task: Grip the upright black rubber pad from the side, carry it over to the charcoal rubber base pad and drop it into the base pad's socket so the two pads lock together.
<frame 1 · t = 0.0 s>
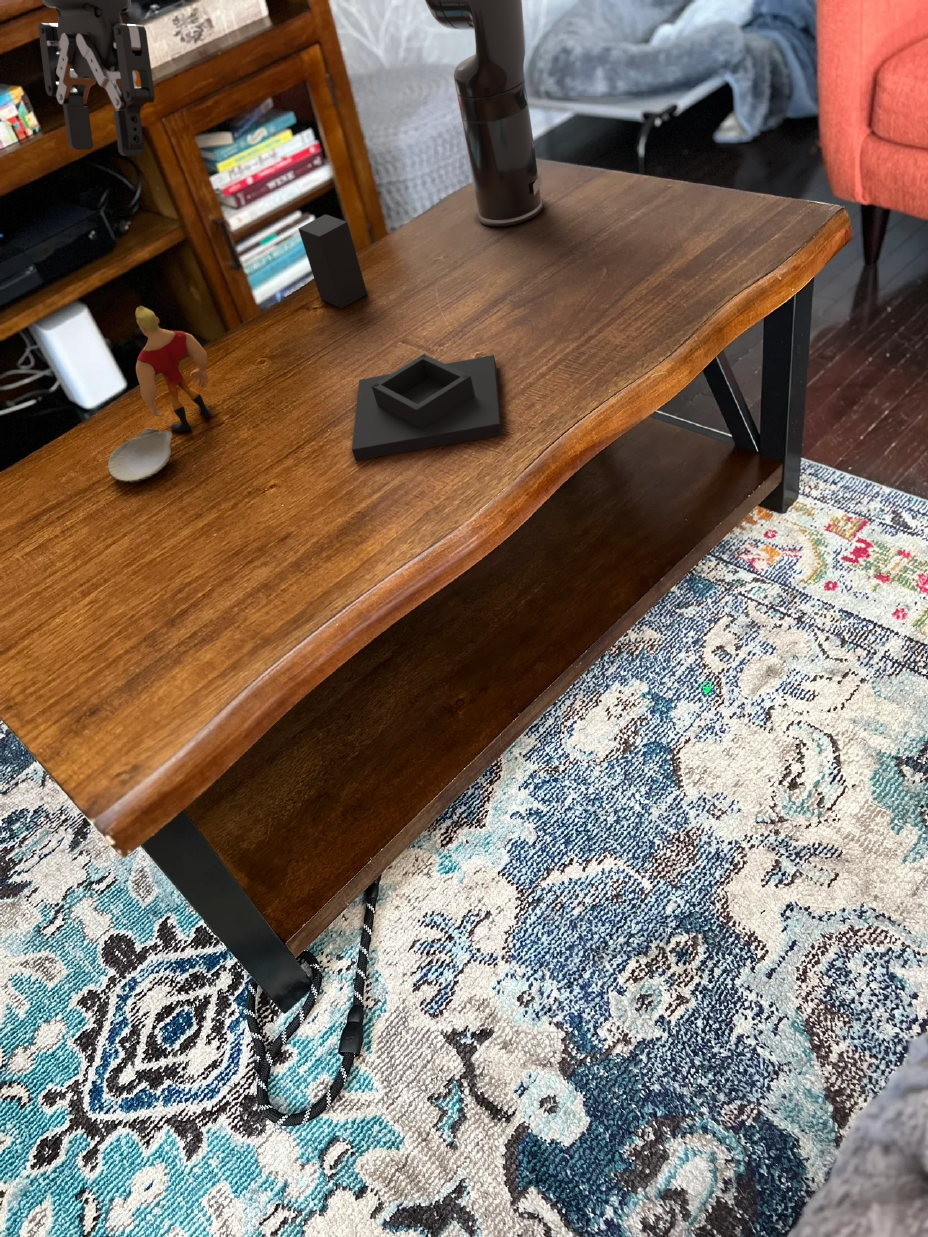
hand: (105, 152, 91), 31 cm above the table, tool tilted 20°, fingers open, 8 cm apart
scallop shell: (149, 467, 110), on the table
action figure: (194, 422, 116), on the table
socket pad: (428, 411, 107), on the table
plug pad: (343, 296, 131), on the table
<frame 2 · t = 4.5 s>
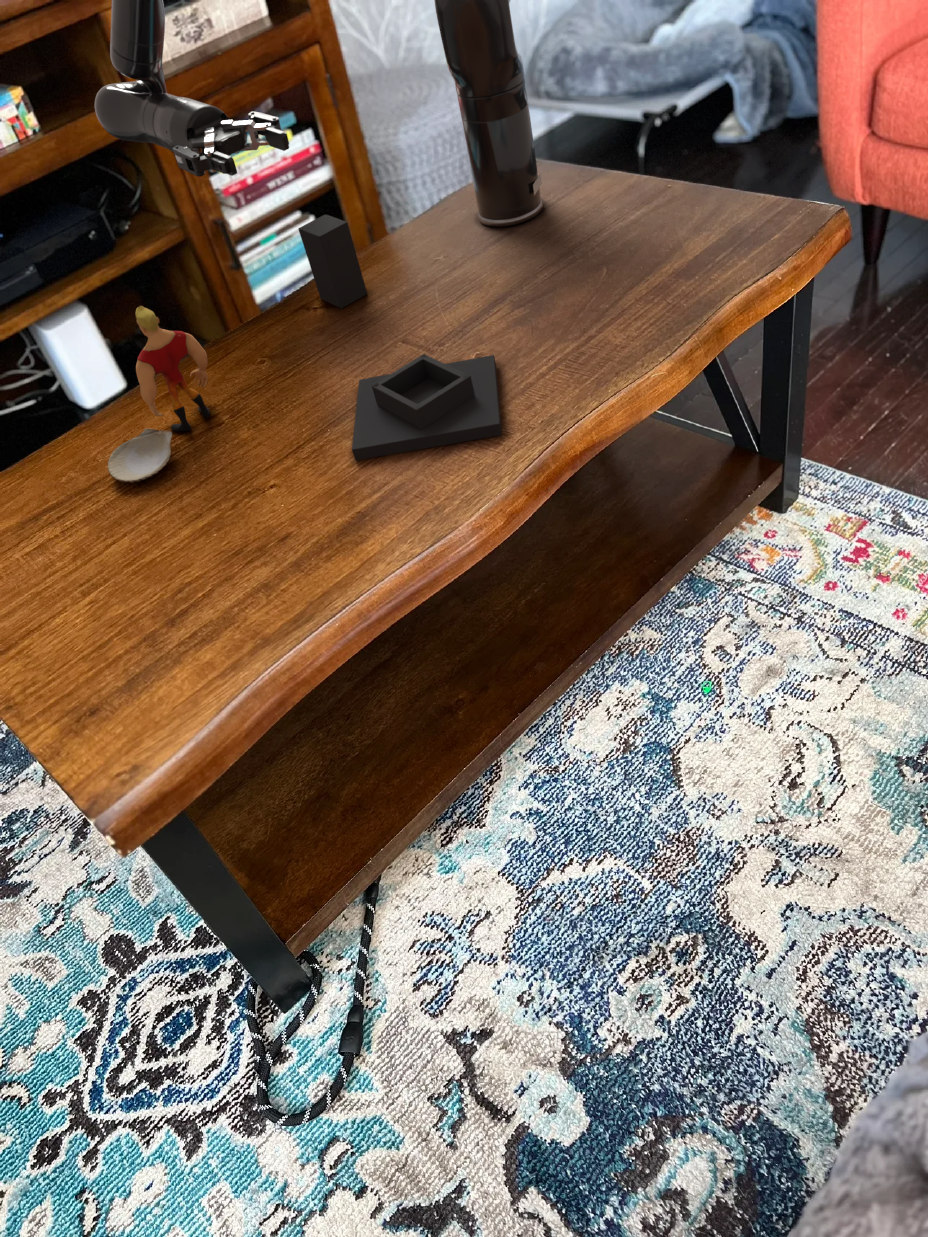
hand: (260, 153, 125), 18 cm above the table, tool horizontal, fingers open, 8 cm apart
nothing on the table moved.
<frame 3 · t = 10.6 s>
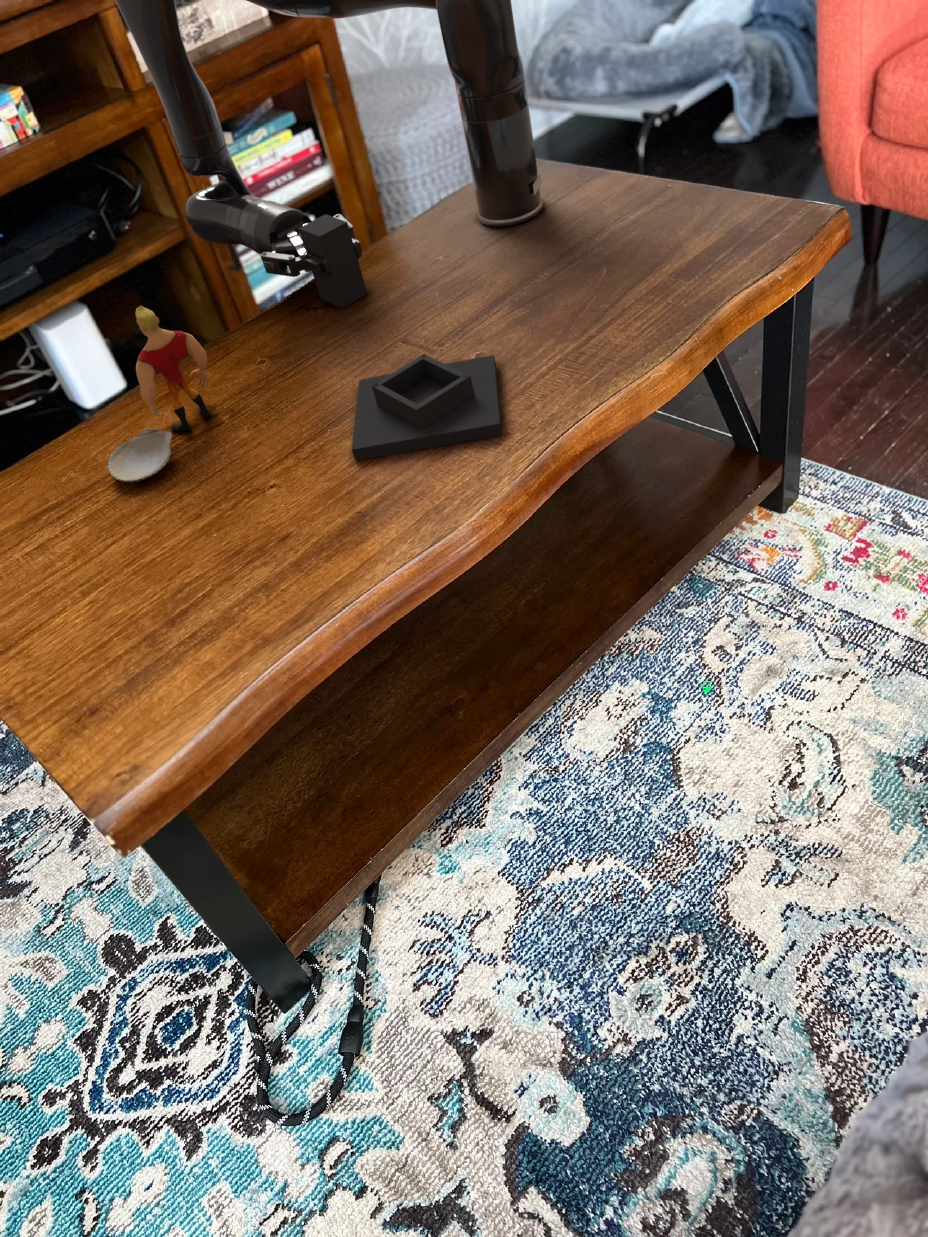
hand: (342, 258, 125), 6 cm above the table, tool horizontal, fingers closed on plug pad, 4 cm apart
plug pad: (344, 296, 131), on the table, touching gripper
everything else where it was.
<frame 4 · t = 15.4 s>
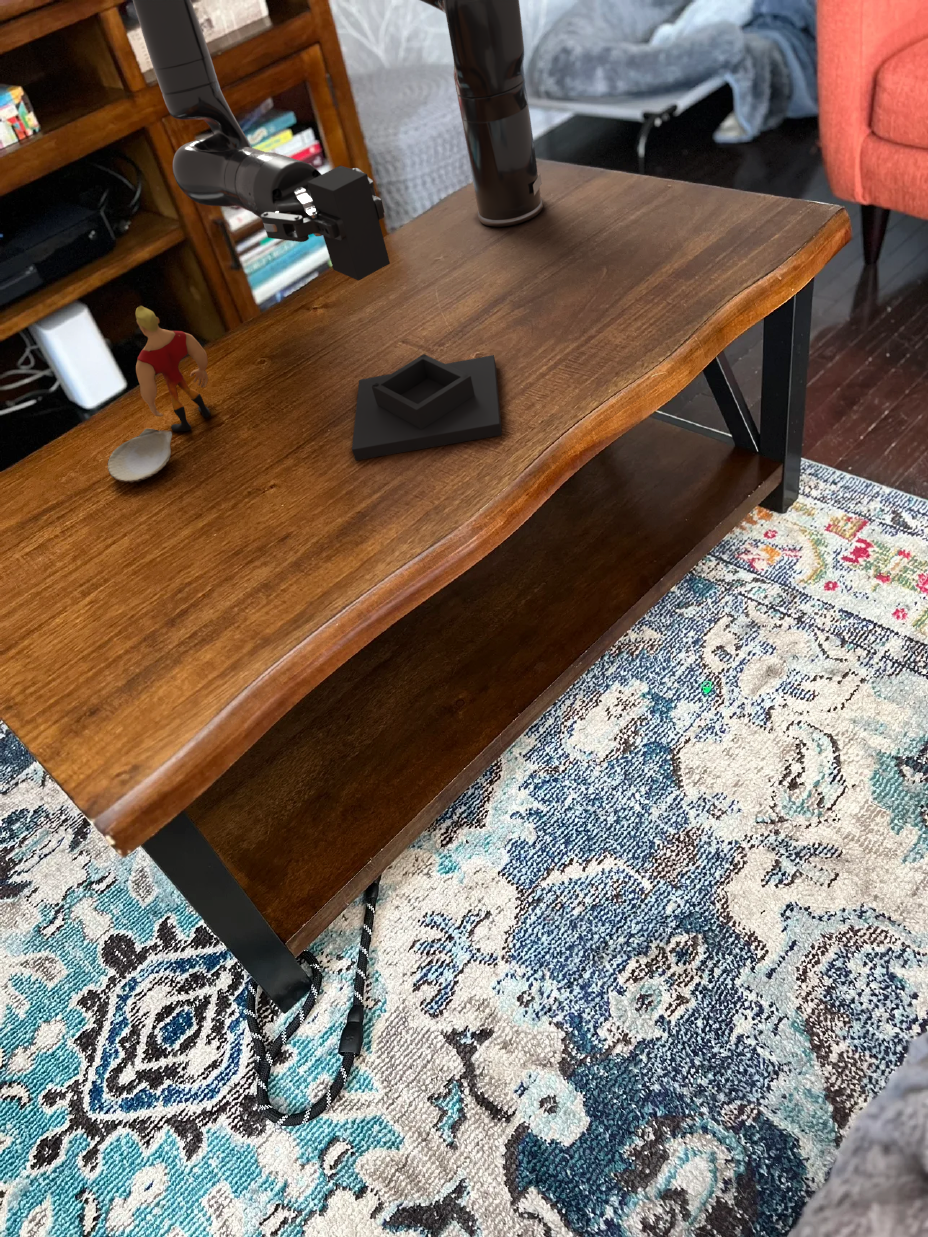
hand: (361, 219, 103), 18 cm above the table, tool horizontal, fingers closed on plug pad, 4 cm apart
plug pad: (361, 266, 109), point 12 cm above the table, touching gripper
everything else where it was.
when the fingers open (8 cm above the table, at t = 20.6 s): plug pad stays where it is, resting on socket pad.
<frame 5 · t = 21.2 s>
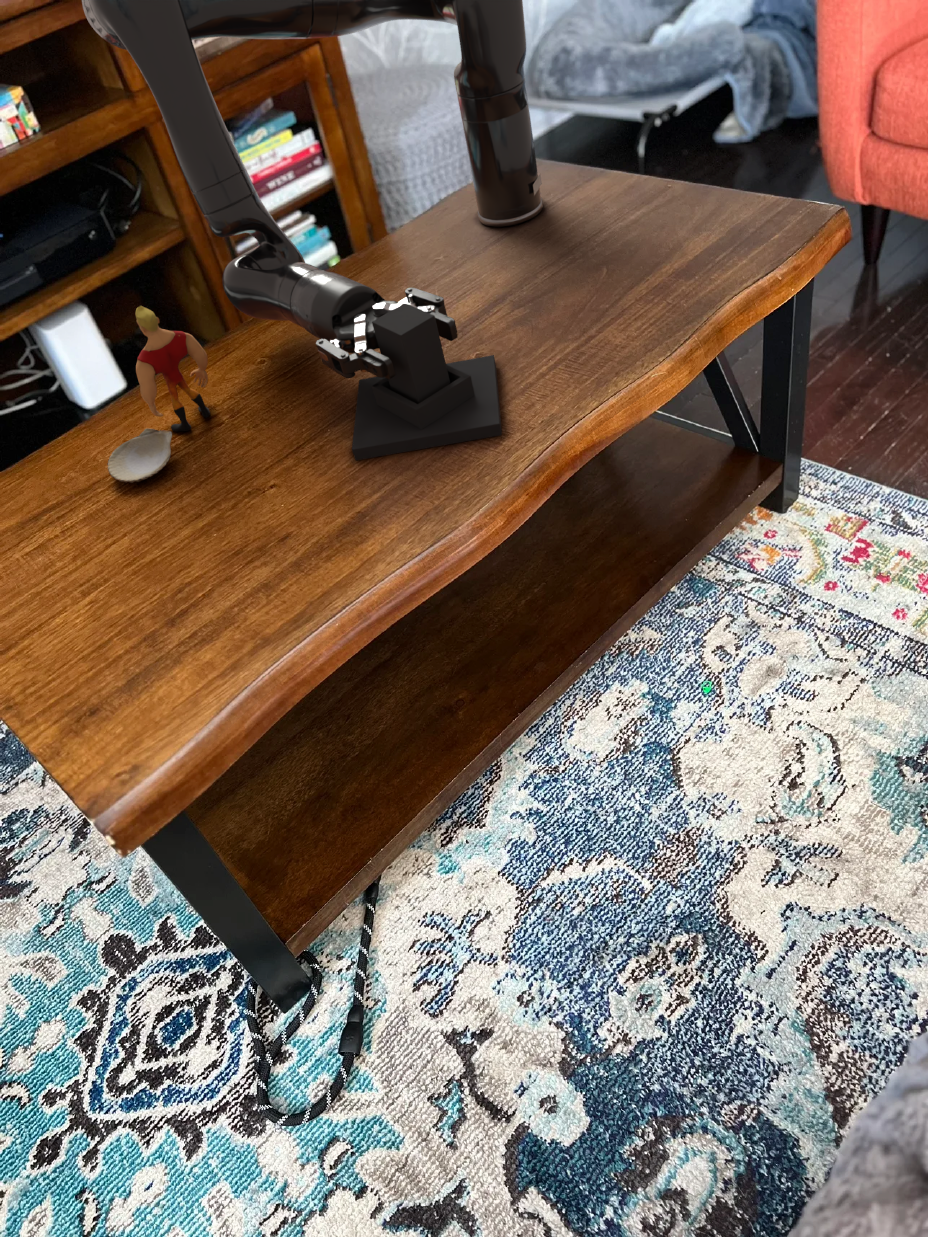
hand: (423, 350, 100), 8 cm above the table, tool horizontal, fingers open, 8 cm apart
plug pad: (424, 400, 106), point 1 cm above the table, touching socket pad
everything else where it was.
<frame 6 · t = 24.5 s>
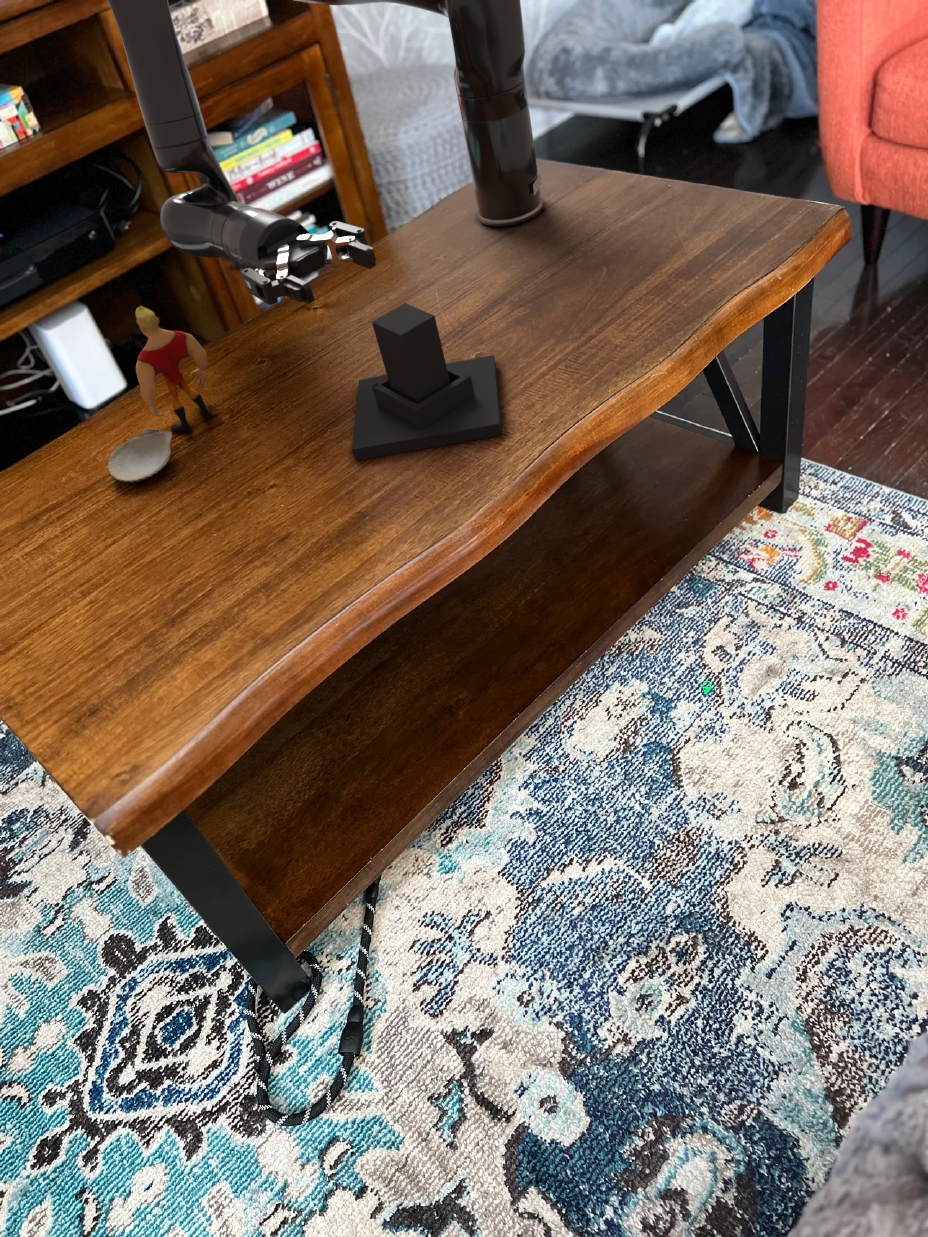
hand: (341, 276, 105), 13 cm above the table, tool horizontal, fingers open, 8 cm apart
nothing on the table moved.
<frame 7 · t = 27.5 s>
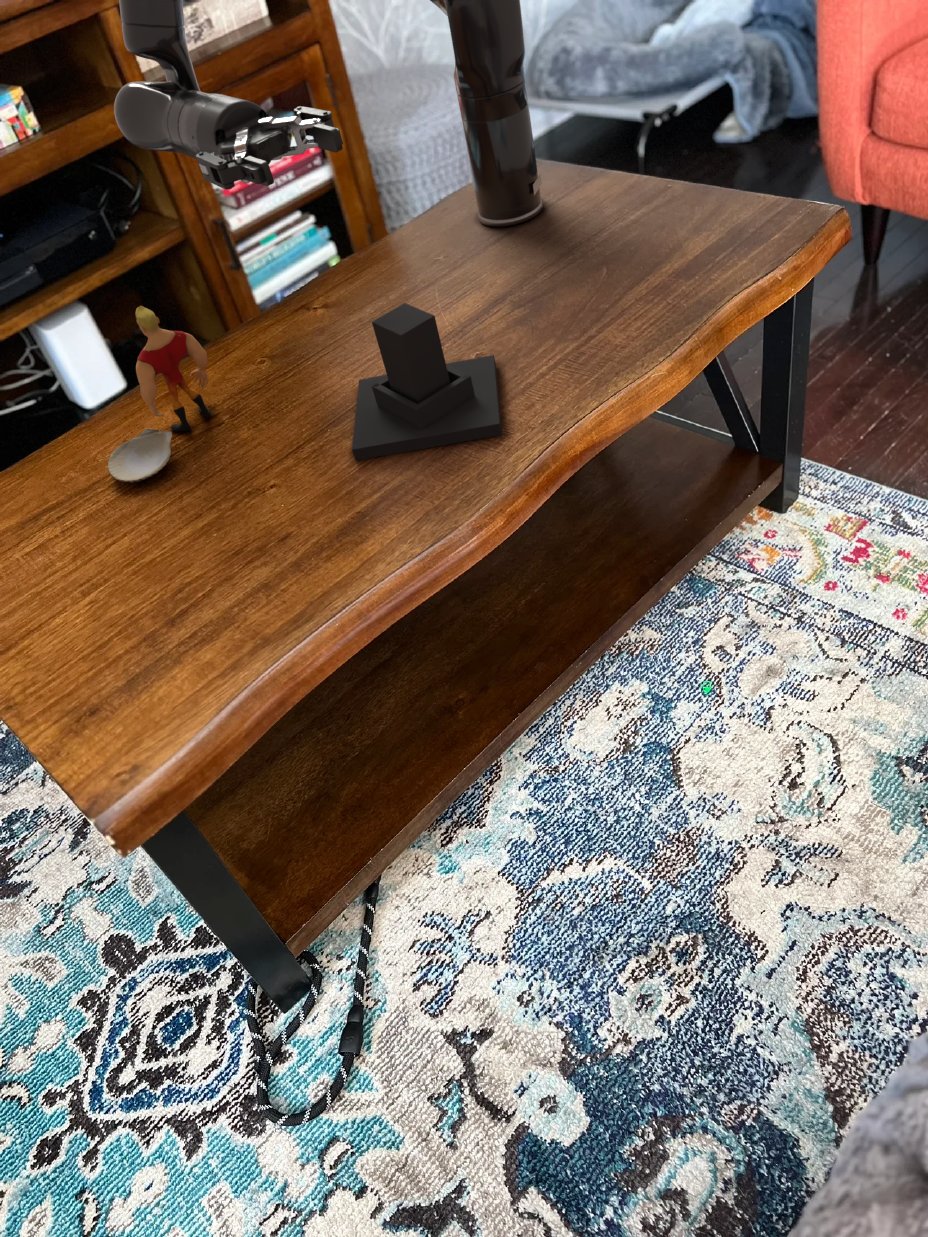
hand: (304, 157, 96), 26 cm above the table, tool horizontal, fingers open, 8 cm apart
nothing on the table moved.
at the end: plug pad 0.2 cm off-centre on the socket pad, point 1.5 cm above the socket pad's base; plug pad tilted 0°; the gripper is holding nothing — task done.
